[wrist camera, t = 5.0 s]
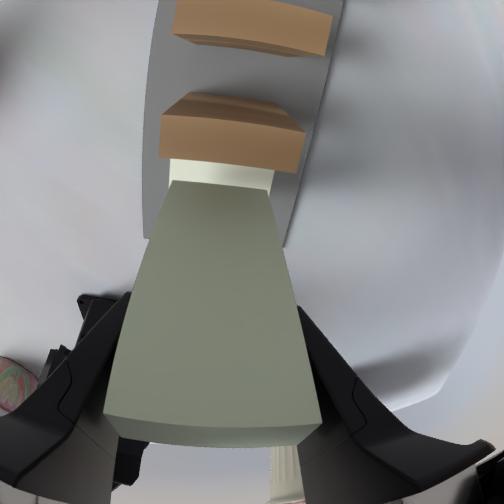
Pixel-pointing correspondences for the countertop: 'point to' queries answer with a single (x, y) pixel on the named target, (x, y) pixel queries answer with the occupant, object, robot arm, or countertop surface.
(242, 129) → the tile
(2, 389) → the potted plant
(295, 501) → the canister
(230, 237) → the tile
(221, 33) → the tile
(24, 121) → the countertop surface
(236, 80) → the domino mat
